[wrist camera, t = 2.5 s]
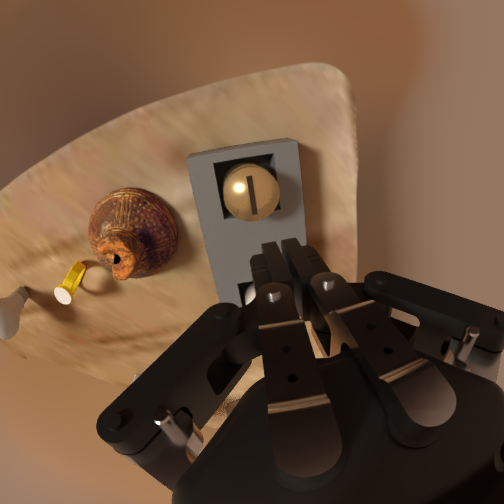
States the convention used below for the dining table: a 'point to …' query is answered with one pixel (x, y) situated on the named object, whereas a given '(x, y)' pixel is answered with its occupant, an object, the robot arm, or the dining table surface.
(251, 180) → the brass knob
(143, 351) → the dining table surface
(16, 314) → the lightbulb
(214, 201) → the knob mount
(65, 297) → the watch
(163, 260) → the broken clay vessel
